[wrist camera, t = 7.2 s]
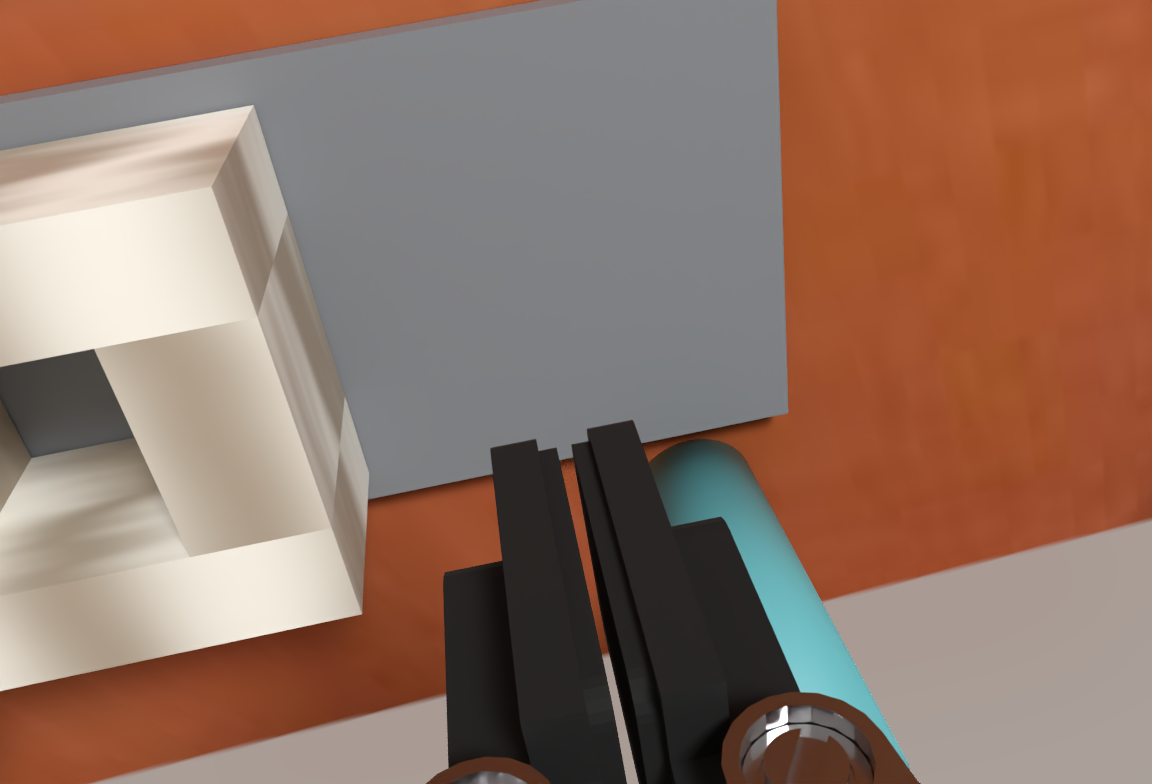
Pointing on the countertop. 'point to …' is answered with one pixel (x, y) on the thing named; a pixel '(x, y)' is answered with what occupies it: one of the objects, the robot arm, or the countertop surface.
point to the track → (494, 224)
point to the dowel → (764, 565)
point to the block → (170, 405)
